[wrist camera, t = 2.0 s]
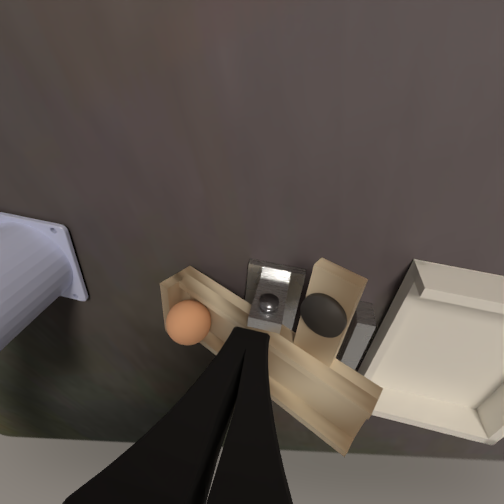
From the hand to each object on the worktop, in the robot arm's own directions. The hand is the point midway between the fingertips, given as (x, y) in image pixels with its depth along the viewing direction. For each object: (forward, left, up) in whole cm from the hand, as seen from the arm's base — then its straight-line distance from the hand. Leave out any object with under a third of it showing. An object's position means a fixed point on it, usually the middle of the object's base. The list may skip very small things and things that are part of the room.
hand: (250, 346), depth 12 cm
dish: (+14, -7, -10) cm, 18 cm away
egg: (-5, -7, -6) cm, 11 cm away
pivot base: (+3, -7, -10) cm, 12 cm away
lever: (0, -4, -6) cm, 8 cm away
